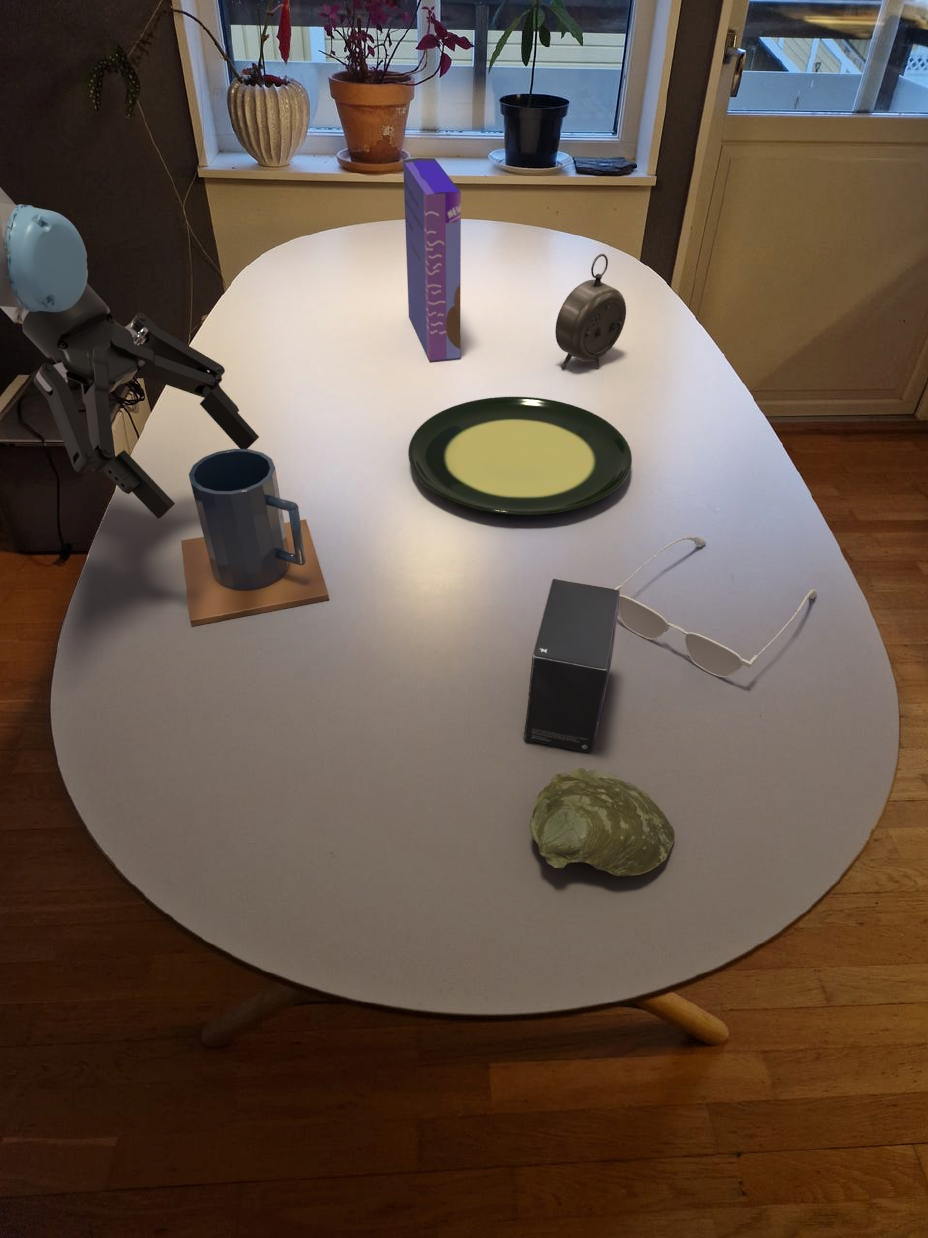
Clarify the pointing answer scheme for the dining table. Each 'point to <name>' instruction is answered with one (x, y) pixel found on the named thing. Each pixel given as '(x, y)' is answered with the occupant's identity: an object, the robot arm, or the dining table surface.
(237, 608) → the cork mat
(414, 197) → the cereal box
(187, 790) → the dining table surface
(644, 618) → the eyeglasses
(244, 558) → the mug
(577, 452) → the plate
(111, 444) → the robot arm
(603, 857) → the seashell
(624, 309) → the alarm clock
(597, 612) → the small box
